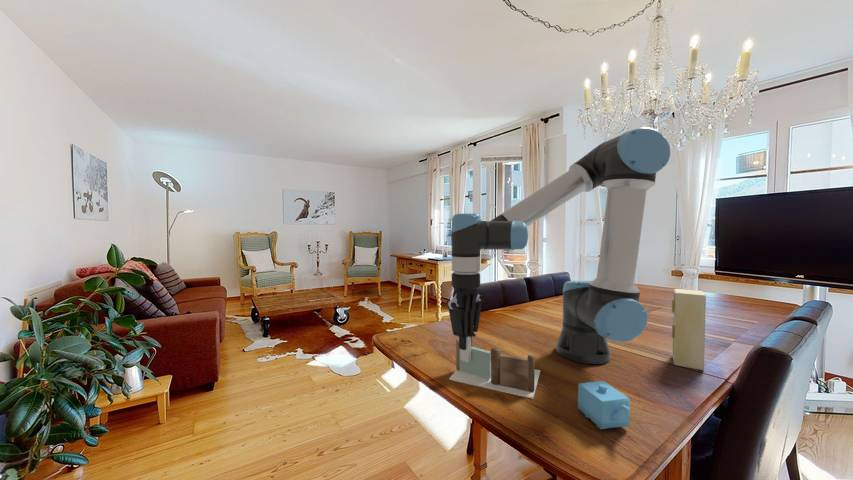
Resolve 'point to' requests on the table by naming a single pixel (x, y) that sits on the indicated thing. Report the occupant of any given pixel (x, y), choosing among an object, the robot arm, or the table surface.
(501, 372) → the fixed fence
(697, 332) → the toy refrigerator
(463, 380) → the card
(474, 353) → the swing panel
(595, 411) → the teapot
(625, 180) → the robot arm
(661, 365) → the table surface
